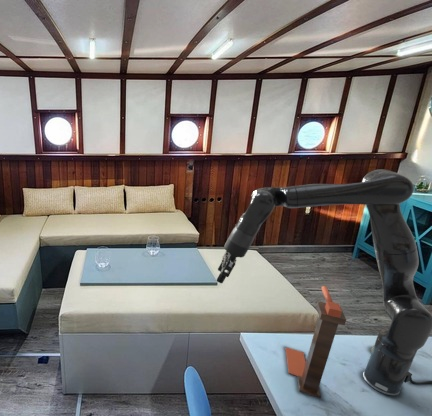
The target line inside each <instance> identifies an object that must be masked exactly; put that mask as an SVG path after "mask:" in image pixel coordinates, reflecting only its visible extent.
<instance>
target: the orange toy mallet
mask: <svg viewBox="0 0 432 416" xmlns="http://www.w3.org/2000/svg"><path fill="white" fill-rule="evenodd" d="M321 291H322V294H323V297H324V300H325V303H326V305H325V309H326V312H327V315H329V316H333V317H338V318H340V316H341V313H342V311H343V309H342V307H341V306H340V304H339V303H338V302H334V301H333V299H332V297H331V294H330V291H329V290H328V287H327V286H326V285H321ZM340 307H341V308H340ZM341 309H342V310H341Z"/></svg>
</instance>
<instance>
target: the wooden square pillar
mask: <svg viewBox="0 0 432 416" xmlns="http://www.w3.org/2000/svg"><path fill="white" fill-rule="evenodd" d="M325 305H326V302H321V301H317V302H316V305H315V308H316V311H317V314H318V315H317V316H318V317H317V321H316V325H315V329H314V332H313V336H312V339H311V343H310V346H309V350H308V352H307V357H306V359H305V362H306V364H305V367H304V371H303V375H302V376H299V375H298V376H296V379H297V385H298V392H299V393H303V394H305V395H309V396H312V397H315V398H317V399H322V394H321V389H320V384H321V381H322V378H323V375H324V372H325V369H326V365H327V363H328V360H329V356H330V354H331V349H332V346H333V344H334V339H335V337H336V333H337V329H338V326H339V325H342V326H345V325H346V322H347V318H346V315H345V313H344V311H343V309H342V307H341V306H340V308H341V310H342V313H341V316H340V318H338V317H333V316H329V315H327V312H326V309H325Z"/></svg>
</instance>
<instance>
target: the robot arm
mask: <svg viewBox="0 0 432 416" xmlns="http://www.w3.org/2000/svg"><path fill="white" fill-rule="evenodd" d="M414 187H415V186H414V184H413V181H411V179H409V178H408V177H407V176H405V175H403V174H401V173H398V172H395V171H393V170H390V169H384V168H383V169H382V168H381V169H374V170H371V171H369V172H368V173H366V175H365V176H364V177H363V178H362V179H361V182H360V181H359V182H352V183H310V184H301V185H292V186H267V187H266V186H265V187H260V188H257V189H255V190H254V191H253V192H252V193H251V194H250V203H249V205H248V207H247V209H246V211H245V212H244V213H242V215H240V217H239V219H238V221H237V223H236V224H235V226H234V227H233V229H232V230H231V232H230V234H229V236H228V238H227V240H226V242H225V244H224V245H223V248H224V250H225V252H224V254H223V256H222V259H221V262H220V264H219V266H218V267H217V271H218V272H220V273H219V274H218V277H217V278H216V282H217V283H220V284H223V283H224V282H225V280H226V278H229V277H230V275H231V273H232V271H233V269H234V267H236V263H237V258H244V257H245V256H246V254H247V253H248V251H249V250H250V247H251V246H252V245H253V242H254V240H255V238H256V236H257V234H258V232H259V231H260V229H261V226H262V225H263V223H264V222H266V220H267V219H268V218H269V216H270V215H271V214H272V213H273V211H274V209H275V207H285V208H287V209H299V208H300V209H301V208H309V207H321V206H336V205H338V206H339V205H365V206H366V208H367V211H368V216H369V220H370V221H369V222H370V230H371V236H372V243H373V249H374V253H375V260H376V264H377V267H378V272H379V275H380V279H381V282H382V303H383V309H384V312H385V313H386V315H387V317H388V318H389V319H390V321H391V323H390V326H389V327H387V326H386V327H382V328H381V329H380V330H379V331H378V334H377V337H376V340H375V342H374V344H375V345H374V344H373V346H374V347H373V346H372V347H373V350H372V352H371V353H370V356H369V358H368V361H367V364H366V366H365V369H364V371H363V373H362V378H363V380H364V382H365V383H366V384H367V385H368V386H369V387H371V388H372V389H374V390H376V391H377V392H379V393H381V394H383V395H387V396H391V397H395V396H396V397H397V396H398V395H399V394H400V392H401V389H402V387H403V385H404V383H405V384H406V383H408V382H410V384H413V385H429V384H432V380H425V381H414V380H413V373H412V372H409V371H410V368H411V366H412V363H413V361H414V359H415V356H416V354H417V352H418V351H419V350H420V349H421V348H423V347H424V346H425V344H426V342H427V341H428V339H429V337H430V336H431V333H432V313H431V312H430V311H429V310H428V309H427V308H426V307H425V306H424V305H423V304H422V303H421V302H420V300H419V299H418V296H417V293H416V290H415V285H414V277H415V275H416V273H417V271H418V268H419V264H420V259H419V258H420V257H419V252H418V246H417V242H416V239H415V237H414V235H413V232H412V231H411V228H410V227H409V225H408V223H407V221H406V219H405V217H404V215H403V213H402V210H401V204H403V203H404V202H406V201H408V200H409V199H410V198H411V197H412V195H413V194H414V191H415V188H414Z"/></svg>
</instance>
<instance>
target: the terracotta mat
mask: <svg viewBox="0 0 432 416" xmlns="http://www.w3.org/2000/svg"><path fill="white" fill-rule="evenodd" d="M285 354H286V360H287V361H286V362H287V363H286V364H287V369H288V370H287V371H288V375H292V376H295V377H297V376H298V375H299V376H302V375H303V371H304V367H305V364H306V358H305V357H306V356H305V352H303V351H300V350H297V349H293V348H291V347H285Z"/></svg>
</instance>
